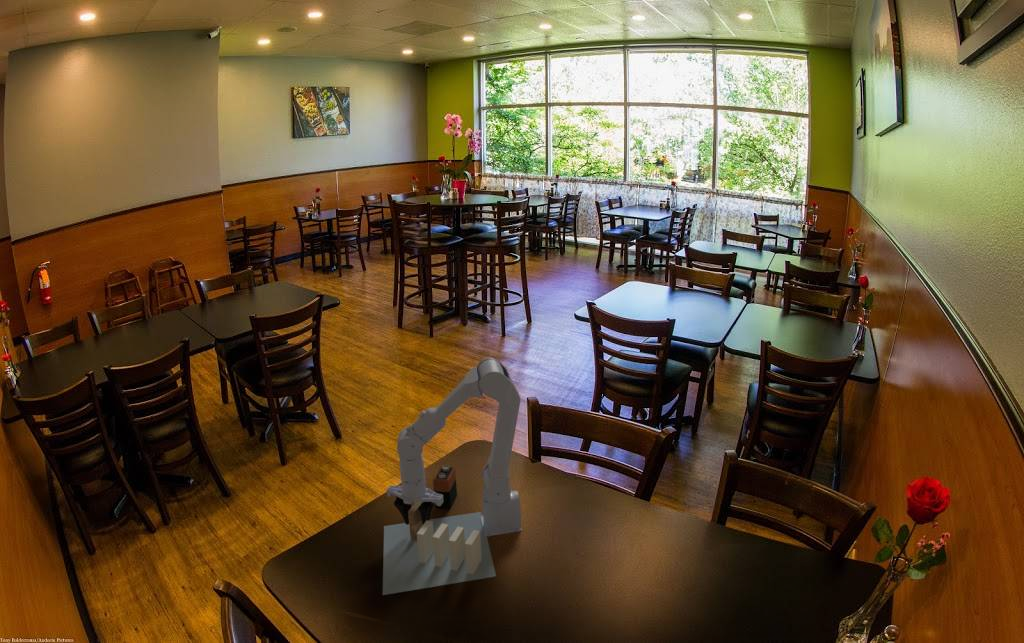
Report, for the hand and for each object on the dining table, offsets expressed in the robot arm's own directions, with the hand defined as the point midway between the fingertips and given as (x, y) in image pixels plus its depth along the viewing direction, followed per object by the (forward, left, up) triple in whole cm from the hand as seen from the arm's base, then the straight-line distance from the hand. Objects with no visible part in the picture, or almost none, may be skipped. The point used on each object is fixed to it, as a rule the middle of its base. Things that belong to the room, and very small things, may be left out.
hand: (417, 524), depth 146 cm
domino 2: (-5, +11, -3) cm, 12 cm away
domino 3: (-9, +13, -3) cm, 16 cm away
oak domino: (0, 0, -3) cm, 3 cm away
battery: (-8, -12, -3) cm, 15 cm away
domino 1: (-2, +9, -3) cm, 9 cm away
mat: (-4, +7, -3) cm, 9 cm away
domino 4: (-12, +15, -3) cm, 19 cm away
